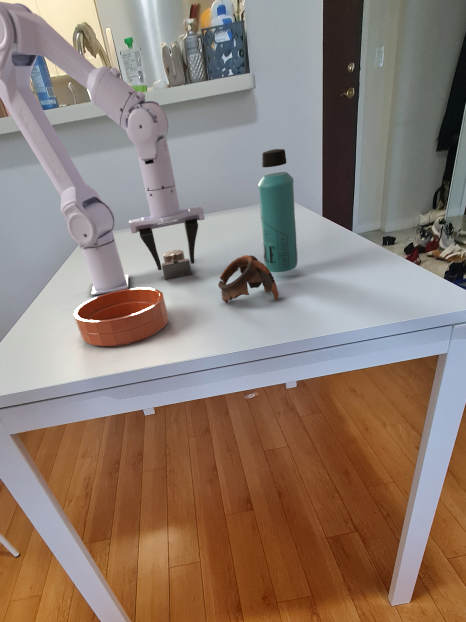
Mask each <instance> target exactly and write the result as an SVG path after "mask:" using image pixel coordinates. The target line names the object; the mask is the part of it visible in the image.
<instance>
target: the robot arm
mask: <svg viewBox="0 0 466 622" xmlns="http://www.w3.org/2000/svg"><path fill="white" fill-rule="evenodd" d="M38 56H41V57H44V58H45V59H47V61H49V62H51V63H52V64H53V65H55V67H57V68H59V70H61V71H63V73H65V74H67V75H68V76H69V77H71V78H72V79H73V80H75V81H76V82H77V83H78V84H80V85H81V86H83V87H84V88H85V89H86V90H87V92H88V95H89V99H90V102H91V103H92V104H93V106H95V107H96V108H97V109H98V110H100V111H101V112H102V113H103V114H105V115H106V116H107V117H108V118H109V119H111V120H112V121H113V122H114V123H116V124H117V125H118V126H119V127H120V128H122V129H123V130H125V132H126V133H125V134H126V135H127V138H128V139H129V141H130V142H131V143H132V144H133V146H134V147H135V151H136V154H137V158H138V163H139V168H140V172H141V173H140V174H141V177H142V178H141V179H142V183H143V186H144V191H145V195H146V199H147V205H148V209H149V212H150V213H149V214H150V215H147V216H143V217H139V218H136V219H131V220H129V221H128V224H129V228H130V233H131V234H132V235H133V234H137V233H139V237H140V239H141V240H142V242H143V244H144V245H145V246H146V248H147V249H148V250H149V252H150V254H151V256H152V258H153V260H154V262H155V264H156V267H157V270H158V271H163V269H162V263H161V259H160V257H159V253H158V250H157V246H156V241H155V236H154V232H153V230H155V229H159V228H165V227H169V226H174V225H180V224H183V225H184V229H185V236H186V240H187V246H188V255H189V256H188V257H189V262H190V265H194V264H195V246H196V239H197V234H198V230H199V222H198V221H204V220H205V218H206V217H205V212H204V208H203V206H198V207H192V208H184V209H180V203H179V198H178V192H177V187H176V182H175V176H174V171H173V165H172V159H171V155H170V151H169V145H168V140H167V135H168V133H169V132H168V131H169V120H168V116H167V114H166V112H165V111H164V109H163V108H162V107H161V106H160V104H159V102H157V101H154V100H147V101H146V94H145V93H144V92H143V91H142V90H138V91H137V90H135V88H133V87H132V85H130V84H129V83H128V82H127V81H125V80H124V79H123V78H122V77H121V75H122V73H121V71H120V70H119V69H118V68H116V67H109V66H107V65H103V66H101V67H96V66H95V65H94V64H93V63H92V62H90V61H89V60H88V59H87V58H86V57H85V56H84V55H83V54H81V52H80V51H79V50H77V48H75V47H74V46H73V45H72V44H71V43H70V42H69V41H67V39H65V38H64V37H63V36H62V35H61V34H60V33H59V32H58V31H57V30H55V28H53V26H51V25H50V24H49V23H48V22H47V21H46V20H45V19H44V18H43V17H42V16H41V15H39V14H37V13H34V12H33V10H31V9H30V8H29V7H28V6H27V5H26V4H23V3H20V2H15V3H14V2H13V3H11V2H5V1H0V100H1V102H2V103H3V104H4V106H5V108H6V110H7V111H8V113H9V114H10V116H11V118H12V120H13V121H14V123H15V124H16V126H17V127H18V129H19V131H20V132H21V135H22V136H23V137H24V139H25V140H26V142H27V144H28V145H29V147H30V149H31V151H32V152H33V154H34V155H35V157H36V158H37V160H38V162H39V163H40V165H41V167H42V168H43V170H44V172H45V174H46V175H47V177H48V178H49V180H50V181H51V183H52V185H53V187H54V188H55V189H56V191H57V193H58V195H59V196H60V213H61V214H62V216H63V218H64V221H65V223H66V227H67V231H68V233H69V235H70V237H71V238H72V239H73V240H74V242H75V243H77V244H78V245H79V248H80V249H81V252H82V255H83V259H84V261H85V265H86V268H87V271H88V274H89V277H90V279H91V283H92V289H91V293H90V294H91V296H96V295H103V294H107V293H111V292H114V291H119V290H125V289H129V286H130V285H129V284H130V275H129V274H125V271H124V268H123V264H122V260H121V257H120V253H119V250H118V246H117V243H116V239H115V235H114V229H115V225H116V218H115V214H114V212H113V210H112V208H111V206H109V205H108V203H106V202H105V201H104V200H103V199H102V198H101V197H100V195H99V194H98V192H97V190H95V189H94V188H93V187H91V186H90V185H89V184H87V183H86V182H85V180H84V179H83V177H82V175H81V174H80V171H79V170H78V168H77V167H76V164H75V163H74V161H73V160H72V158H71V156H70V155H69V152H68V151H67V149H66V147H65V145H64V144H63V142H62V141H61V139H60V137H59V136H58V133H57V132H56V130H55V128H54V126H53V125H52V123H51V121H50V119H49V118H48V116H47V114H46V113H45V111H44V109H43V107H42V106H41V104H40V102H39V100H38V99H37V97H36V95H35V93H34V92H33V90H32V88H31V79H32V78H31V77H32V72H33V69H34V66H35V63H36V61H37V59H38Z"/></svg>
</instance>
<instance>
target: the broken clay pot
mask: <svg viewBox="0 0 466 622" xmlns="http://www.w3.org/2000/svg"><path fill="white" fill-rule="evenodd" d="M238 270H239V272H240V275H239V276H238V277H237V278H236V279H234V280H232V282H231V281H230V282H229V279H230V278H231V277H232V276H234V274H236V272H237V271H238ZM219 279H220V280H219V282H218V284H217V286H218V288H219V289H220V290H221V293H220V294H221V299H222V301H223V302H224V303H225V304H228V303H229V301H233V300H234V299H238V298H239V297H240V296H250V293H249V289H248V286H249V288H250V289H254V288H256V289H257V288H259V287H260V286H263V289H264V293H272V294H273V298H274V300H275V301H278V300H279V296H280V295H279V291H278V287H277V283H276V281H275V279H274V276H273V273H272V272H270V270H269V269H268V268H267V267H266V265H265V263H263V262H261V261H259V259H258V258H256V256H254V255H252V254H249V255H248V254H245V255H242V256H240V257H237V258H236V259H234V260H233V261H231V262H230V264H229V265H227V266H226V268H224V270H223V271H222V273H221V275H220V276H219ZM228 282H229V283H228Z"/></svg>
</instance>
